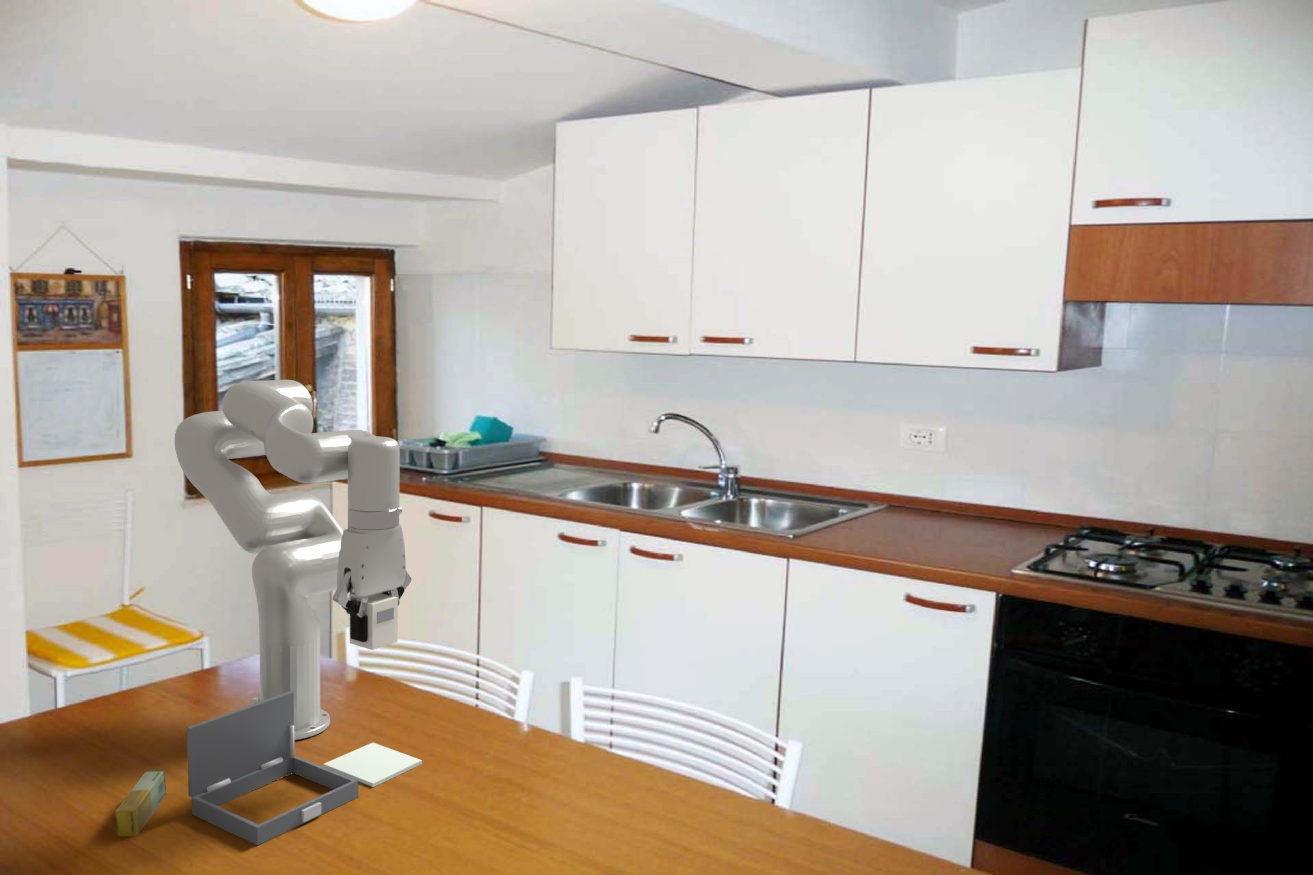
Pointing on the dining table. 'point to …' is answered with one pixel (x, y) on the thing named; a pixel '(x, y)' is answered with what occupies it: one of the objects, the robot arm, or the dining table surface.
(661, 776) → the dining table surface
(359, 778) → the mat
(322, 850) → the dining table surface
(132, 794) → the medication box
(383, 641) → the block
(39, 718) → the dining table surface
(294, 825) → the case
